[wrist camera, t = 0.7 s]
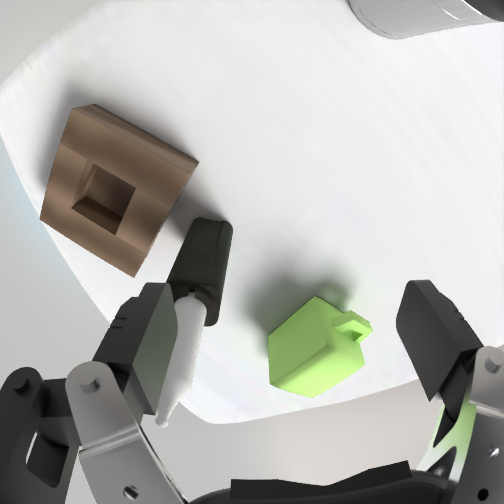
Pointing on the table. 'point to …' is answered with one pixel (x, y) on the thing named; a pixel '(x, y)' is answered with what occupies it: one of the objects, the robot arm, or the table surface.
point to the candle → (194, 303)
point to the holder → (113, 186)
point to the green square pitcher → (316, 348)
